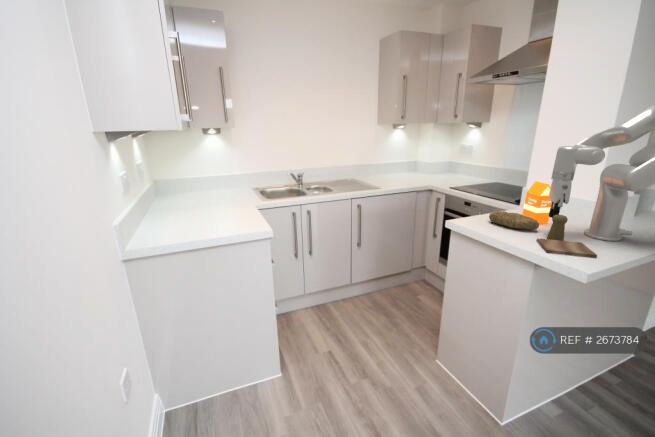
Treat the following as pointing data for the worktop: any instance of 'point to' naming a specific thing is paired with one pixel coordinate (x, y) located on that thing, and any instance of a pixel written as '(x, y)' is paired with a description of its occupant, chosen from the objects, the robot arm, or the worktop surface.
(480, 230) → the worktop surface
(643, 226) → the worktop surface
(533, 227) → the sponge
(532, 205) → the orange juice
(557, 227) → the cork
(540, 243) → the walnut board
